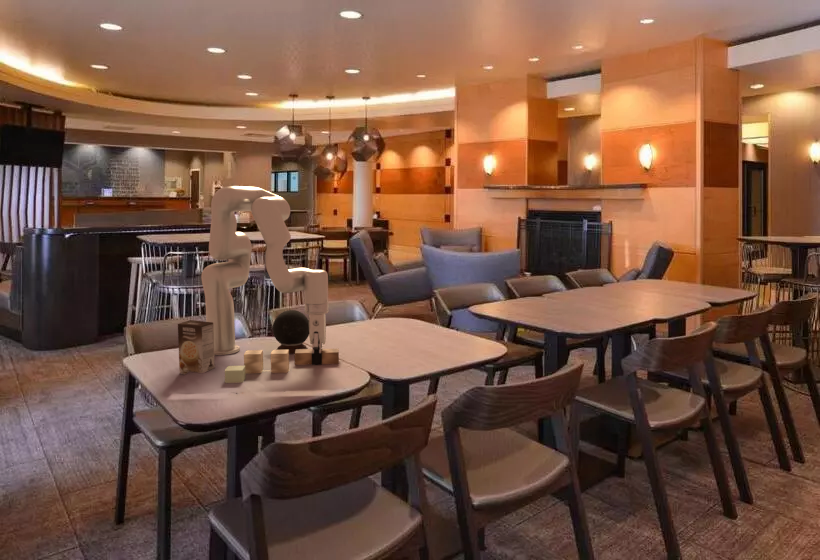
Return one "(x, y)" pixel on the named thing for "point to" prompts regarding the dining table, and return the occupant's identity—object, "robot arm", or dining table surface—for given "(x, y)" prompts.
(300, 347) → the black ball on stand
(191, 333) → the coffee box
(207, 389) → the dining table surface
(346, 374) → the dining table surface
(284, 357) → the block
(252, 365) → the block
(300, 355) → the plank
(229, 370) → the cube
